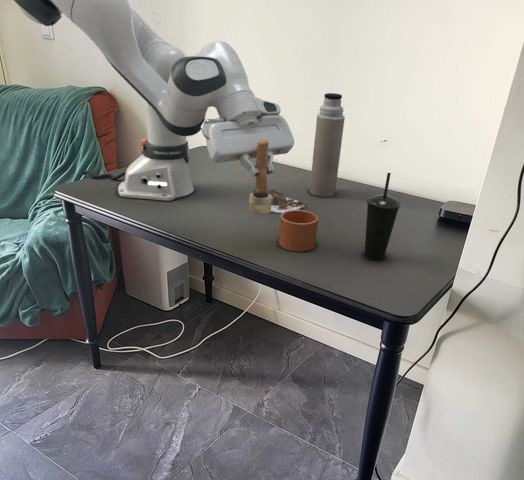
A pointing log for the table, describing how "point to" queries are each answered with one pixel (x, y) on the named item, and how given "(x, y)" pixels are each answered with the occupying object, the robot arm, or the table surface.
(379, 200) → the drinking cup
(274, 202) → the frog figurine
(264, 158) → the brush
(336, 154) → the thermos bottle
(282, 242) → the tumbler
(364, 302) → the table surface
